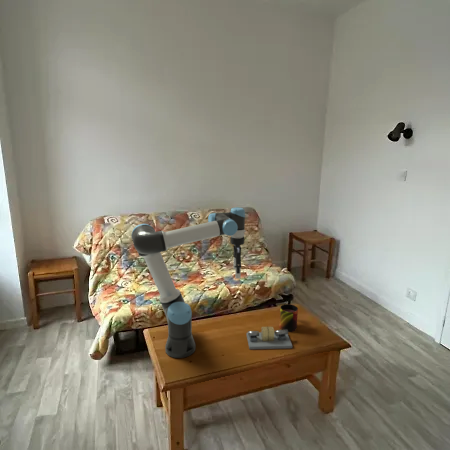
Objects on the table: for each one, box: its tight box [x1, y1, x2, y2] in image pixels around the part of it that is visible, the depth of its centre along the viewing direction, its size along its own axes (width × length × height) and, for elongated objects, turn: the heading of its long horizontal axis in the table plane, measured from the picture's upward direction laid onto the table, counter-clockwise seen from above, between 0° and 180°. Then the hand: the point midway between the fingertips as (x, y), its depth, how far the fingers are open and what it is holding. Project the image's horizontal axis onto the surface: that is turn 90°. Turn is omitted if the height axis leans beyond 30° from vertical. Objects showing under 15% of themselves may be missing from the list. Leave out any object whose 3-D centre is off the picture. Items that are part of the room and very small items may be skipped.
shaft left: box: [247, 330, 259, 342], centre depth 180 cm, size 6×4×5 cm
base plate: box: [246, 331, 293, 350], centre depth 181 cm, size 22×13×2 cm, turn 93°
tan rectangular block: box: [260, 326, 275, 341], centre depth 180 cm, size 6×4×6 cm
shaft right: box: [274, 329, 289, 341], centre depth 182 cm, size 7×4×5 cm
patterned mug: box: [279, 303, 299, 333], centre depth 196 cm, size 10×14×12 cm
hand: (236, 273), depth 189 cm, fingers open, 13 cm apart
